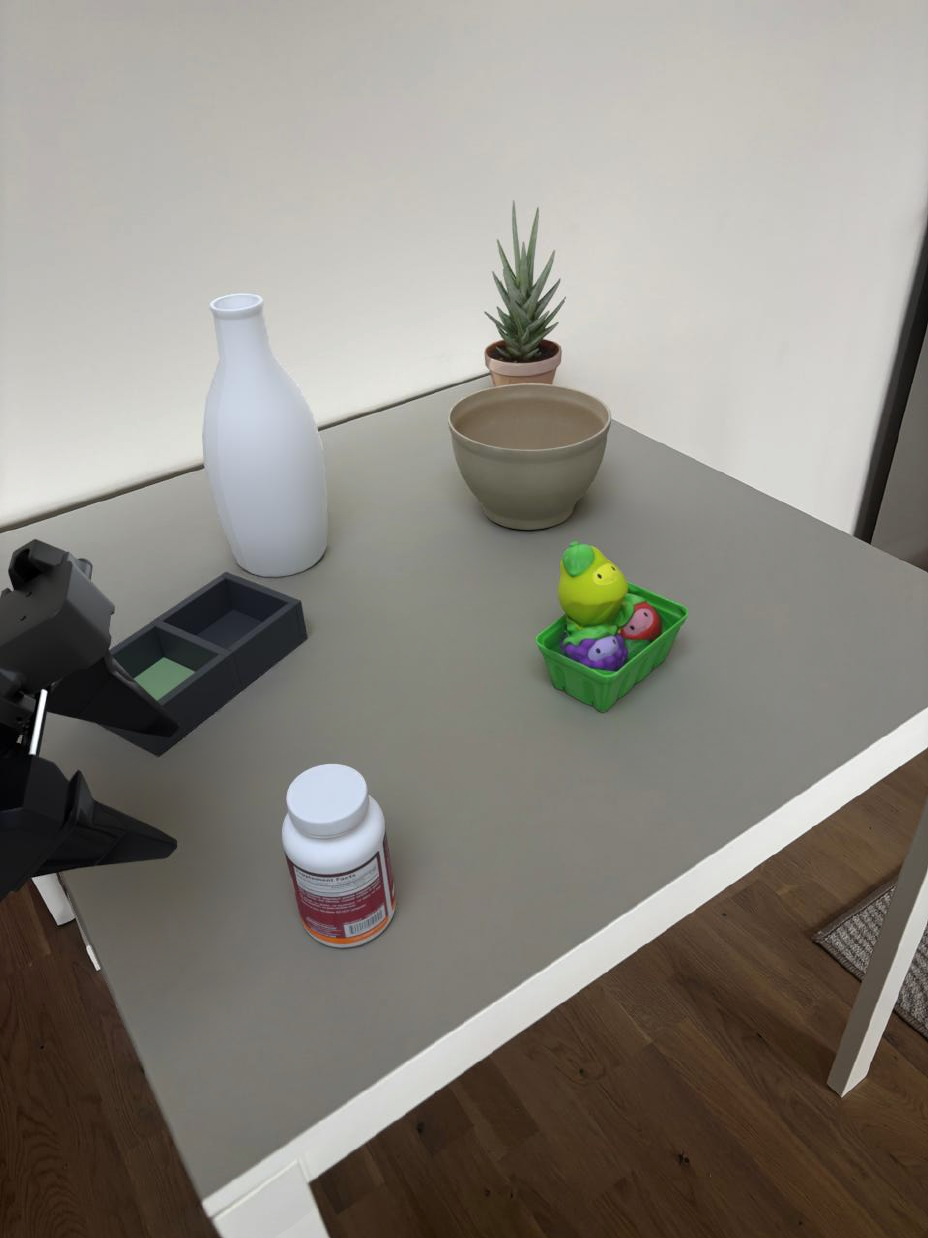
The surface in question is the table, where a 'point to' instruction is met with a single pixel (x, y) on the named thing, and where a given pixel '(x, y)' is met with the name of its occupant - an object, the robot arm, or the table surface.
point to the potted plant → (523, 320)
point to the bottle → (262, 449)
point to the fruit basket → (605, 630)
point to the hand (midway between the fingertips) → (174, 786)
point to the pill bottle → (338, 856)
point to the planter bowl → (529, 450)
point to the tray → (208, 651)
